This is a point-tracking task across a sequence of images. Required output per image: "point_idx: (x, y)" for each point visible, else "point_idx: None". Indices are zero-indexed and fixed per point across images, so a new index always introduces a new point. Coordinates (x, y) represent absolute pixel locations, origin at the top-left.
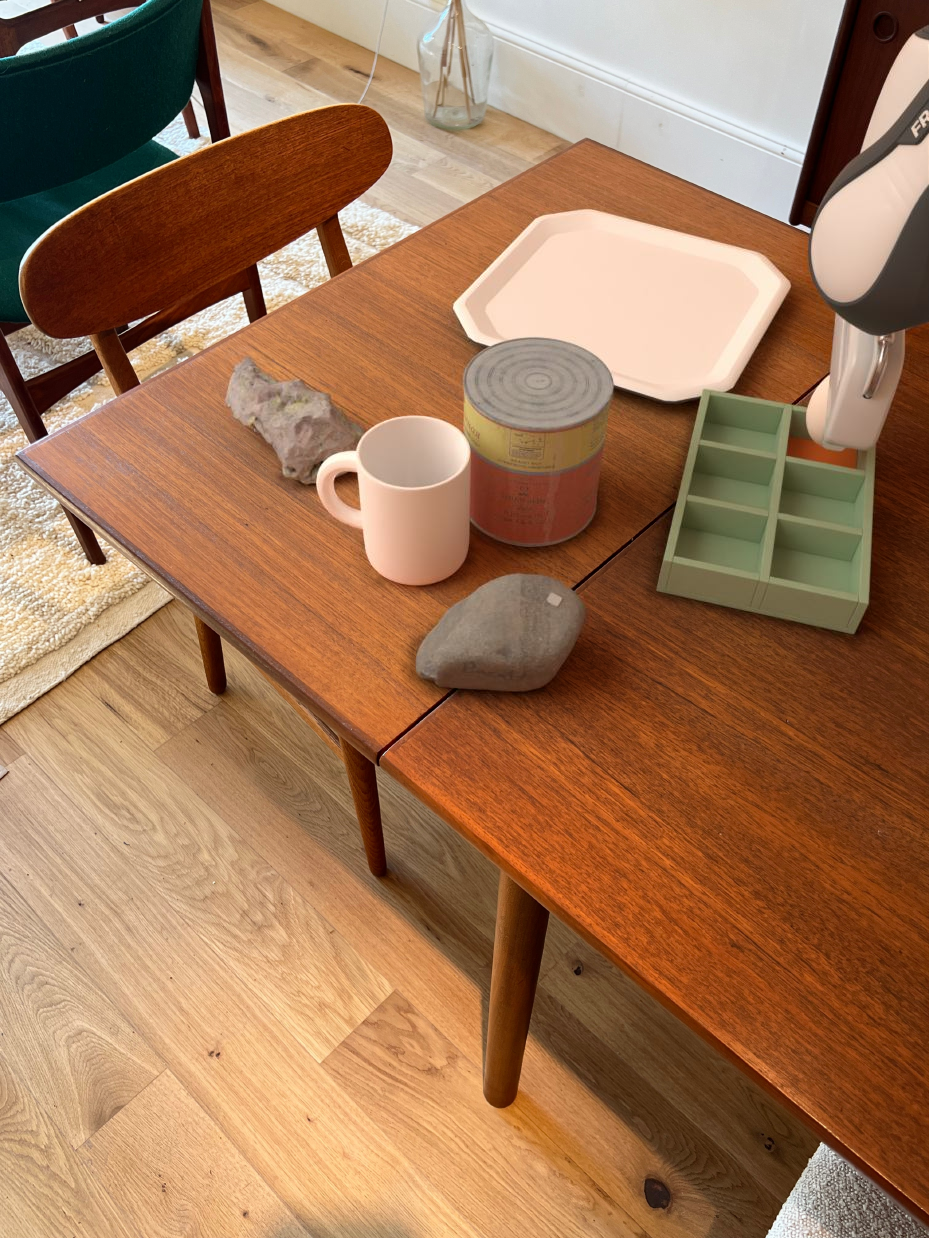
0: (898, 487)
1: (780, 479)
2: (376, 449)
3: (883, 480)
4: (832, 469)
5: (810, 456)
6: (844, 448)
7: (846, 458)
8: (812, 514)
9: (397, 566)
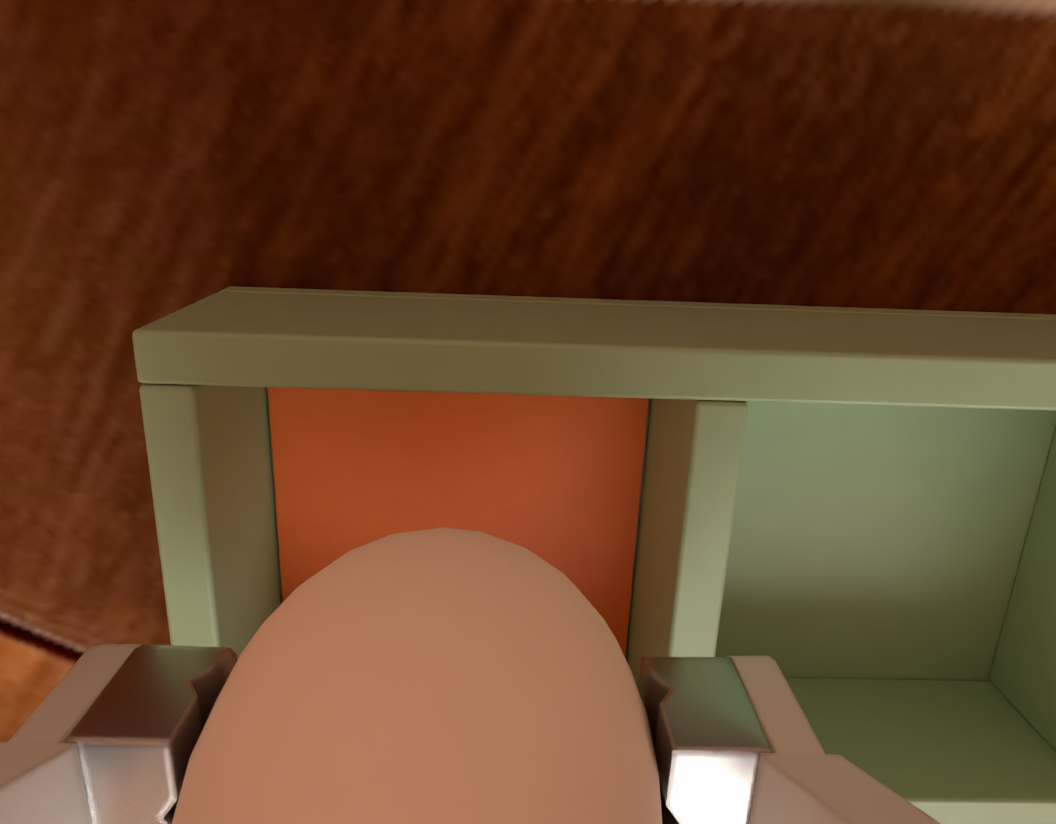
0: (468, 102)
1: None
2: None
3: (433, 184)
4: (719, 580)
5: None
6: (777, 665)
7: (367, 397)
8: (809, 529)
9: None
